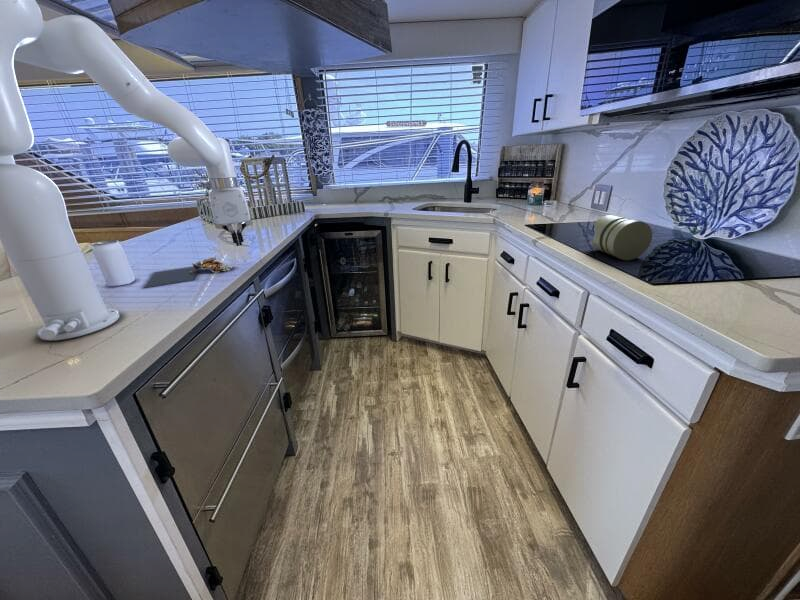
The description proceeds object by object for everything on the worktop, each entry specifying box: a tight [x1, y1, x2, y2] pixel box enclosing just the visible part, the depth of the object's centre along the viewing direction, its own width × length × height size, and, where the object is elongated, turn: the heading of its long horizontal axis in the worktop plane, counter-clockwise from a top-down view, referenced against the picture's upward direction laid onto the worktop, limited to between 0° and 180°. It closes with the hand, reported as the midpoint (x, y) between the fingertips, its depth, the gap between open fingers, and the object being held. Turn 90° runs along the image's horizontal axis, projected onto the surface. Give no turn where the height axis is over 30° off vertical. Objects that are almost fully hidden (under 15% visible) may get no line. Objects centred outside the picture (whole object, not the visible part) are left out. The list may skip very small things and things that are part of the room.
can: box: [91, 239, 136, 288], centre depth 91 cm, size 6×6×12 cm
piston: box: [588, 214, 653, 261], centre depth 98 cm, size 11×12×11 cm
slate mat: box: [143, 266, 197, 289], centre depth 98 cm, size 16×12×1 cm
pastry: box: [190, 256, 234, 275], centre depth 101 cm, size 7×12×4 cm, turn 92°
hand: (239, 244), depth 103 cm, fingers closed
